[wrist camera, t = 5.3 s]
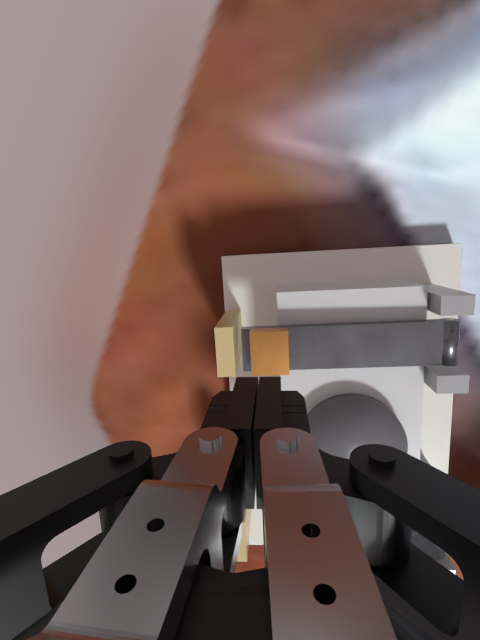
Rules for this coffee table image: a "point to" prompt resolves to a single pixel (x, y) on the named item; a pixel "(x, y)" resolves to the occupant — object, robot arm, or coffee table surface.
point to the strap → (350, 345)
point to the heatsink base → (340, 266)
